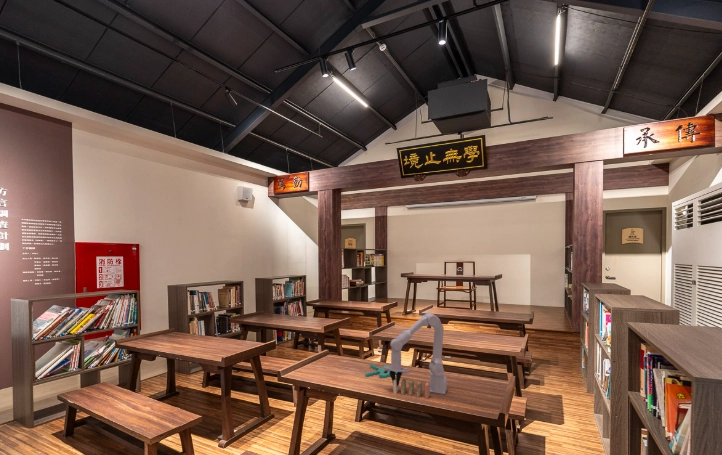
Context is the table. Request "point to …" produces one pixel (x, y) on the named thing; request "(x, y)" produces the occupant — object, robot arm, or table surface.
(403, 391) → the domino
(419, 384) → the domino
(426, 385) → the domino
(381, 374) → the alien figure
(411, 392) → the domino
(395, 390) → the white domino
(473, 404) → the table surface
